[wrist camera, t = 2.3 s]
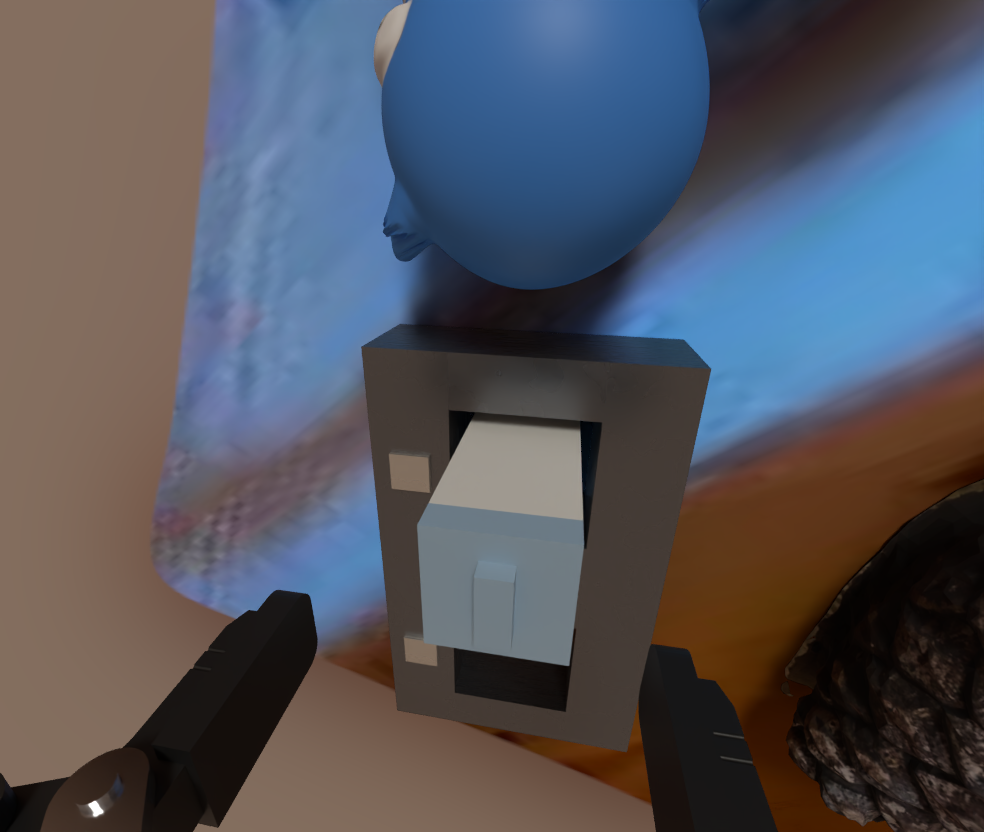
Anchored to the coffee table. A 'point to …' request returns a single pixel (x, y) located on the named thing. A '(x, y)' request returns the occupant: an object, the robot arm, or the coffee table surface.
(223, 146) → the coffee table surface
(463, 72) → the blue mole toy
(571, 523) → the plug
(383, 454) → the panel
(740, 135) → the coffee table surface
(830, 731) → the pine cone
